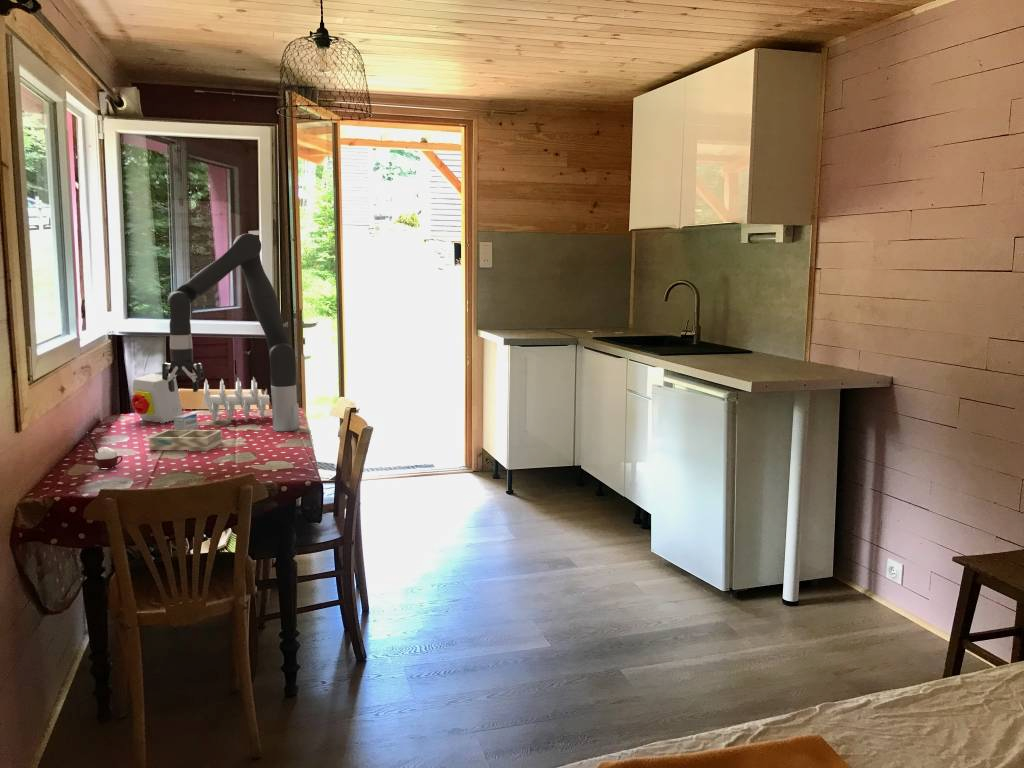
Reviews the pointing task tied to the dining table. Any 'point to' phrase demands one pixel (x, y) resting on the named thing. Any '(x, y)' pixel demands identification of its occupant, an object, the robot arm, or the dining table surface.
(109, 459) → the cocoa
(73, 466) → the dining table surface
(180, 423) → the medicine box
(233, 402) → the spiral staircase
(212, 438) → the rack
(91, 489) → the dining table surface
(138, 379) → the electrical switch box
